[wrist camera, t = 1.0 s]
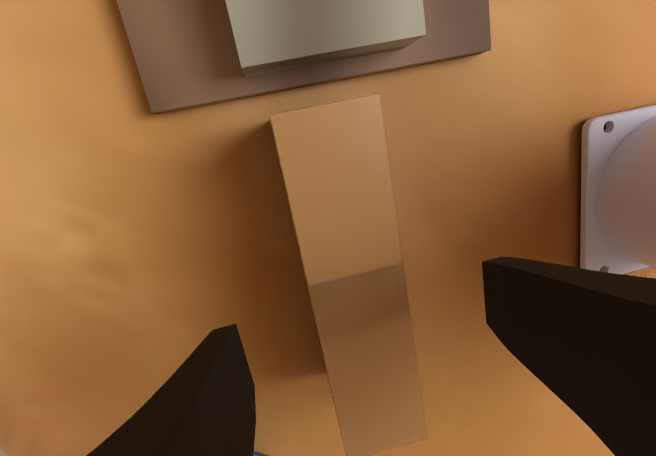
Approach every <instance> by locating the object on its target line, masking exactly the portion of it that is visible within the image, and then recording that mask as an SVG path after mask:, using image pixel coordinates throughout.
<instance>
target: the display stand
mask: <svg viewBox="0 0 656 456" xmlns="http://www.w3.org/2000/svg"><path fill="white" fill-rule="evenodd" d="M116 1H117V4H118V8H119V11H120V14H121V17H122V20H123V24H124V27H125V30H126V33H127V36H128V39H129V43H130V46H131V49H132V52H133V55H134V59H135V62H136V65H137V68H138V71H139V74H140V78H141V81H142V84H143V87H144V90H145V93H146V97H147V100H148V103H149V106H150V109H151V113H155V114H161V113H166V112H172V111H177V110H182V109H188V108H193V107H198V106H204V105H209V104H214V103H220V102H225V101H230V100H236V99H241V98H246V97H252V96H257V95H262V94H268V93H273V92H278V91H284V90H289V89H294V88H300V87H305V86H311V85H316V84H321V83H327V82H332V81H337V80H343V79H348V78H353V77H359V76H364V75H369V74H375V73H380V72H385V71H391V70H396V69H401V68H407V67H412V66H417V65H423V64H428V63H433V62H439V61H444V60H449V59H455V58H460V57H465V56H471V55H476V54H481V53H483V52H486V51H489V50H491V39H490V20H489V2H488V0H116Z"/></svg>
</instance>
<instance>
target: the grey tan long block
mask: <svg viewBox="0 0 656 456" xmlns="http://www.w3.org/2000/svg"><path fill="white" fill-rule="evenodd" d="M270 125H271V130H272V134H273V138H274V143H275V147H276V152H277V156H278V160H279V165H280V169H281V174H282V178H283V183H284V187H285V191H286V196H287V200H288V205H289V209H290V213H291V218H292V222H293V227H294V231H295V236H296V240H297V244H298V248H299V251H300V256H301V260H302V265H303V269H304V273H305V278H306V284H307V289H308V293H309V297H310V302H311V306H312V311H313V315H314V319H315V324H316V328H317V333H318V337H319V342H320V346H321V350H322V355H323V359H324V364H325V368H326V372H327V377H328V381H329V385H330V389H331V393H332V397H333V402H334V406H335V410H336V414H337V418H338V422H339V427H340V431H341V435H342V439H343V443H344V447H345V452H346V456H369V455H373V454H376V453H379V452H383V451H386V450H390V449H393V448H396V447H400V446H403V445H406V444H410V443H413V442H416V441H420V440H423V439H426V438H427V433H426V425H425V418H424V411H423V404H422V397H421V390H420V382H419V375H418V368H417V361H416V354H415V347H414V340H413V332H412V325H411V318H410V311H409V304H408V297H407V290H406V282H405V275H404V268H403V261H402V254H401V247H400V240H399V232H398V225H397V218H396V211H395V204H394V197H393V190H392V182H391V175H390V168H389V161H388V154H387V147H386V140H385V132H384V125H383V118H382V111H381V104H380V97H379V94H377V95H372V96H367V97H362V98H356V99H351V100H346V101H341V102H336V103H331V104H325V105H320V106H315V107H310V108H305V109H300V110H294V111H289V112H284V113H279V114H274V115H270Z"/></svg>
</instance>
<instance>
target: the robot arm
mask: <svg viewBox="0 0 656 456" xmlns="http://www.w3.org/2000/svg"><path fill="white" fill-rule="evenodd" d="M605 123H606V129H605V130H604V129H603V127H604V124H605ZM601 267H602V268H601ZM648 267H653V268H656V104H654V105H650V106H645V107H640V108H636V109H631V110H626V111H622V112H617V113H612V114H607V115H603V116H598V117H593V118H590V119H588V120H587V121H586V122H585V123H584V125H583V128H582V163H581V247H580V268H575V267H570V266H564V265H558V264H552V263H546V262H540V261H534V260H528V259H521V258H512V257H499V258H495V259H491V260H487V261H483V262H482V268H483V282H484V296H485V310H486V323H487V324H488V326H489V327H490V328H491V329H492V331H493V332H494V333H495V335H496V336H497V337H498V338H499V340H500V341H501V342H502V343H503V344H504V346H505V347H506V348H507V349H508V350H509V351H510V352H511V353H512V354H513V355H514V356H515V357H516V358H517V359H518V360H519V361H520V362H521V363H522V364H523V365H524V366H525V367H527V368H528V369H529V370H530V371H531V372H532V373H533V374H534V375H535V376H536V377H537V378H538V379H539V380H540V381H542V382H543V383H544V384H545V385H546V386H547V387H548V388H549V389H550V390H551V391H552V392H553V393H554V394H556V395H557V396H558V397H559V398H560V399H561V400H562V401H563V402H564V403H565V404H566V405H567V406H568V407H570V408H571V409H572V410H573V411H574V412H575V413H576V414H577V415H578V416H579V417H580V418H581V419H582V420H583V421H584V422H585V423H586V424H587V425H588V426H589V427H590V428H591V429H592V430H593V431H594V433H595V434H596V435H597V436H598V437H599V438H600V439H601V440H602V441H603V443H604V444H605V445H606V446H607V447H608V448H609V449H610V450H611V452H612V453H613V454H614V455H615V456H656V279H654V278H645V277H636V276H629V275H621V274H625V273H629V272H633V271H637V270H640V269H644V268H648ZM600 269H601V270H600ZM255 426H256V409H255V386H254V383H253V379H252V376H251V373H250V369H249V366H248V363H247V359H246V356H245V353H244V349H243V346H242V342H241V339H240V336H239V332H238V329H237V326H236V324H234V325H230V326H226V327H222V328H218V329H214V330H213V331H212V332H210V333H209V335H208V336H207V337H206V338H205V339H204V340H203V341H202V342H201V343H200V345H199V346H198V347H197V348H196V349H195V350H194V352H193V353H192V354H191V355H190V356H189V357H188V358H187V359H186V361H185V362H184V363H183V364H182V365H181V366H180V367H179V369H178V370H177V371H176V372H175V373H174V374H173V375H172V376H171V377H170V378H169V379H168V381H167V382H166V383H165V384H164V385H163V386H162V387H161V388H160V389H159V390H158V391H157V392H156V393H155V394H154V395H153V396H152V397H151V398H150V399H149V400H148V401H147V402H146V403H145V404H144V405H143V406H142V407H141V408H140V409H139V410H138V411H137V412H136V413H135V414H134V415H133V416H132V417H131V418H130V419H129V420H128V421H126V422H125V423H124V424H123V425H122V426H121V427H120V428H119V429H117V430H116V431H115V432H114V433H113V434H112V435H111V436H109V437H108V438H107V439H106V440H105V441H104V442H103V443H101V444H100V445H99V446H98V447H97V448H95V449H94V450H93V451H92V452H90V453H89V454H88V455H87V456H253V450H254V438H255Z"/></svg>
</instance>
